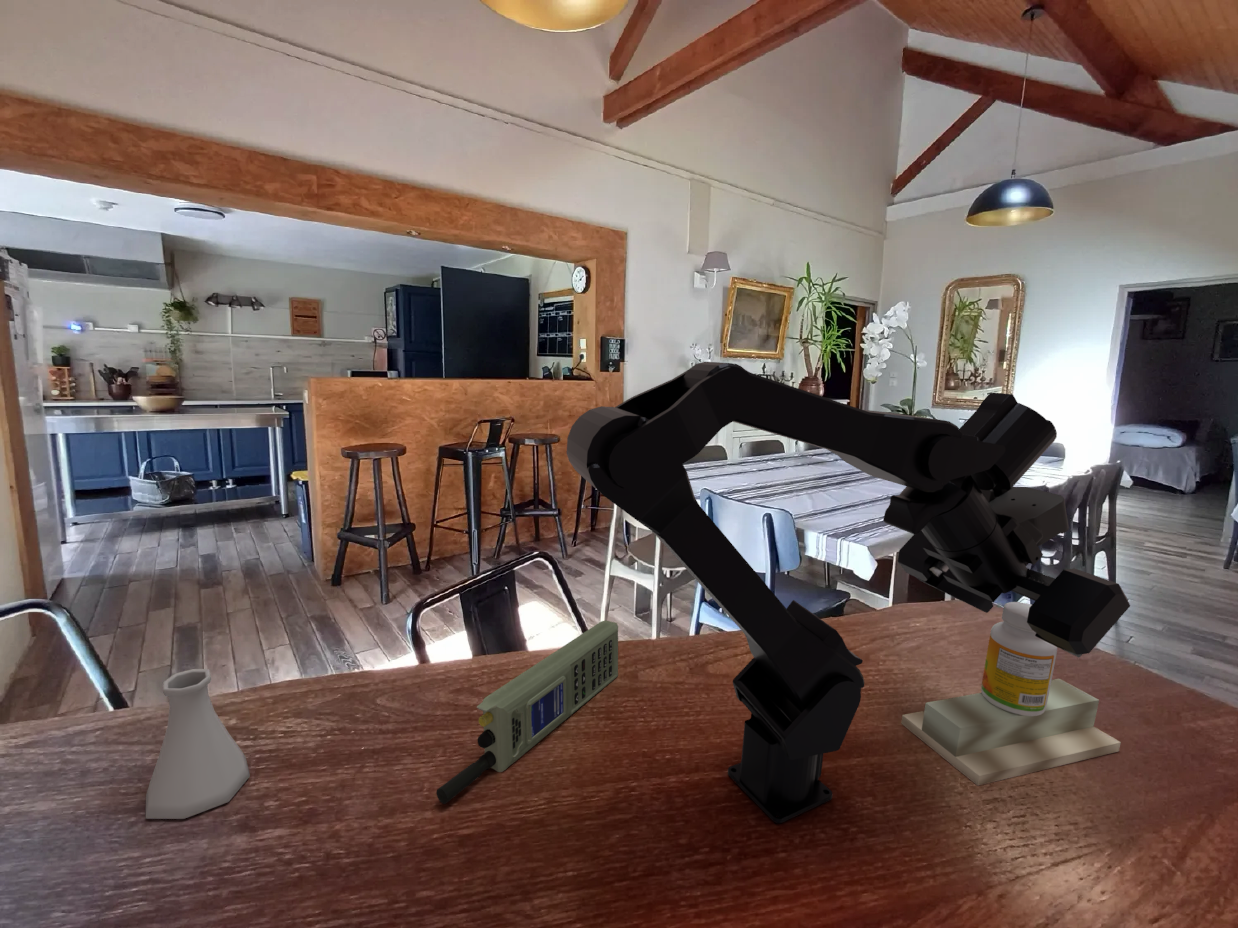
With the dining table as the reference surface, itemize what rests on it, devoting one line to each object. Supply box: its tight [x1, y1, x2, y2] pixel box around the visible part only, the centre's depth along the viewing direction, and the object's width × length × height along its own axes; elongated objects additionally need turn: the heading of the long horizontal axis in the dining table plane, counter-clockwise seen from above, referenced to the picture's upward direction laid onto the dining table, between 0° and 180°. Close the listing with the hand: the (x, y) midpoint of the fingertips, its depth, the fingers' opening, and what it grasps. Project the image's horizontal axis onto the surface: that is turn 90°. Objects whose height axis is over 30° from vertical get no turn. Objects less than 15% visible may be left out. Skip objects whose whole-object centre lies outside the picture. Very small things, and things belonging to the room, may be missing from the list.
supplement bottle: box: [980, 601, 1058, 716], centre depth 56 cm, size 5×5×10 cm
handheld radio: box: [435, 620, 619, 805], centre depth 56 cm, size 7×3×25 cm
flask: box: [145, 668, 251, 820], centre depth 47 cm, size 7×7×10 cm
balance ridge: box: [900, 678, 1121, 787], centre depth 58 cm, size 18×9×4 cm, turn 107°
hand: (1031, 629), depth 56 cm, fingers open, 9 cm apart
